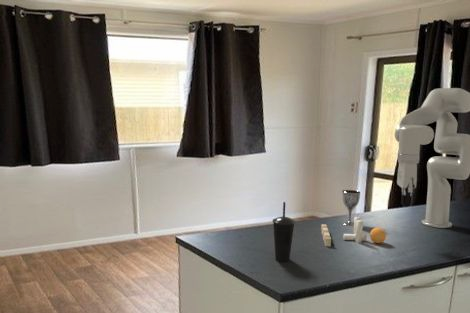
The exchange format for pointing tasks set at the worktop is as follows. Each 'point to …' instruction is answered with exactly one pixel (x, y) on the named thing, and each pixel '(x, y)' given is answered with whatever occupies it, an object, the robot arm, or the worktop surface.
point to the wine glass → (350, 203)
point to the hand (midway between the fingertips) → (406, 204)
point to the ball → (377, 235)
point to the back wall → (326, 235)
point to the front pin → (353, 237)
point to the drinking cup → (283, 236)
